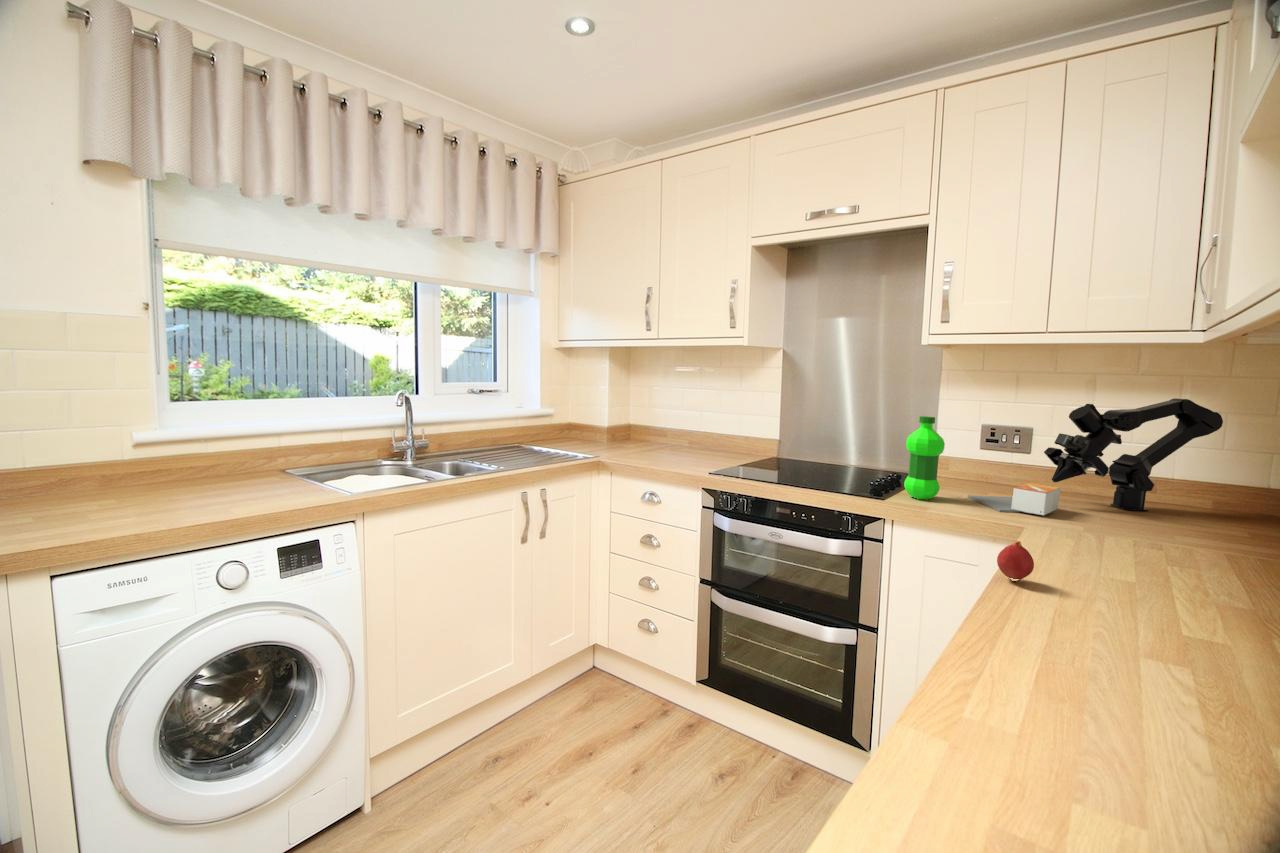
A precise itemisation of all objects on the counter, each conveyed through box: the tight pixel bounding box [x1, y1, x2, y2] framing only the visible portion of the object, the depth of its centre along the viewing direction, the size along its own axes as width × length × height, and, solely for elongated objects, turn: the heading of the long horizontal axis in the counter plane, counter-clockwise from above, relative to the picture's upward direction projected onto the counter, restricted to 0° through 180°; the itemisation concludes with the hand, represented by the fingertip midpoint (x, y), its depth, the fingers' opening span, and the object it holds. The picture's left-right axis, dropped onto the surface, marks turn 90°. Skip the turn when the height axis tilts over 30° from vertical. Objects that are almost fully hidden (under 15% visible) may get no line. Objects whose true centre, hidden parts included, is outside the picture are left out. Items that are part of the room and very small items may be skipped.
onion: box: [996, 540, 1035, 580], centre depth 110 cm, size 6×6×8 cm
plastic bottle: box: [903, 415, 945, 500], centre depth 178 cm, size 10×10×25 cm
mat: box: [967, 494, 1052, 515], centre depth 173 cm, size 14×18×1 cm
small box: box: [1011, 482, 1061, 516], centre depth 166 cm, size 8×6×13 cm
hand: (1053, 481), depth 171 cm, fingers closed
